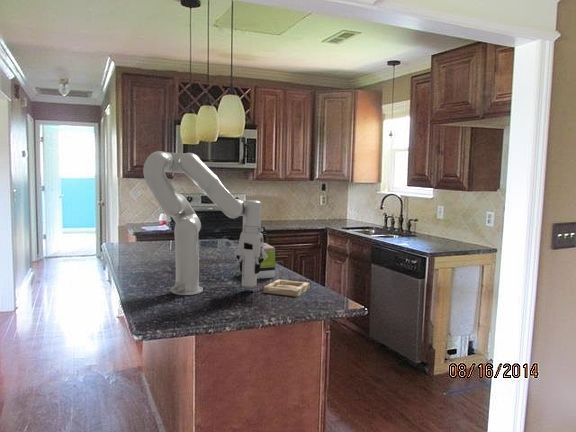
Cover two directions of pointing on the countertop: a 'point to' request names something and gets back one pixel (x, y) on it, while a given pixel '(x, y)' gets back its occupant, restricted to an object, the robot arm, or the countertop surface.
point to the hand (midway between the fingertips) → (249, 271)
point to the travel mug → (248, 268)
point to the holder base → (287, 287)
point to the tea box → (267, 263)
